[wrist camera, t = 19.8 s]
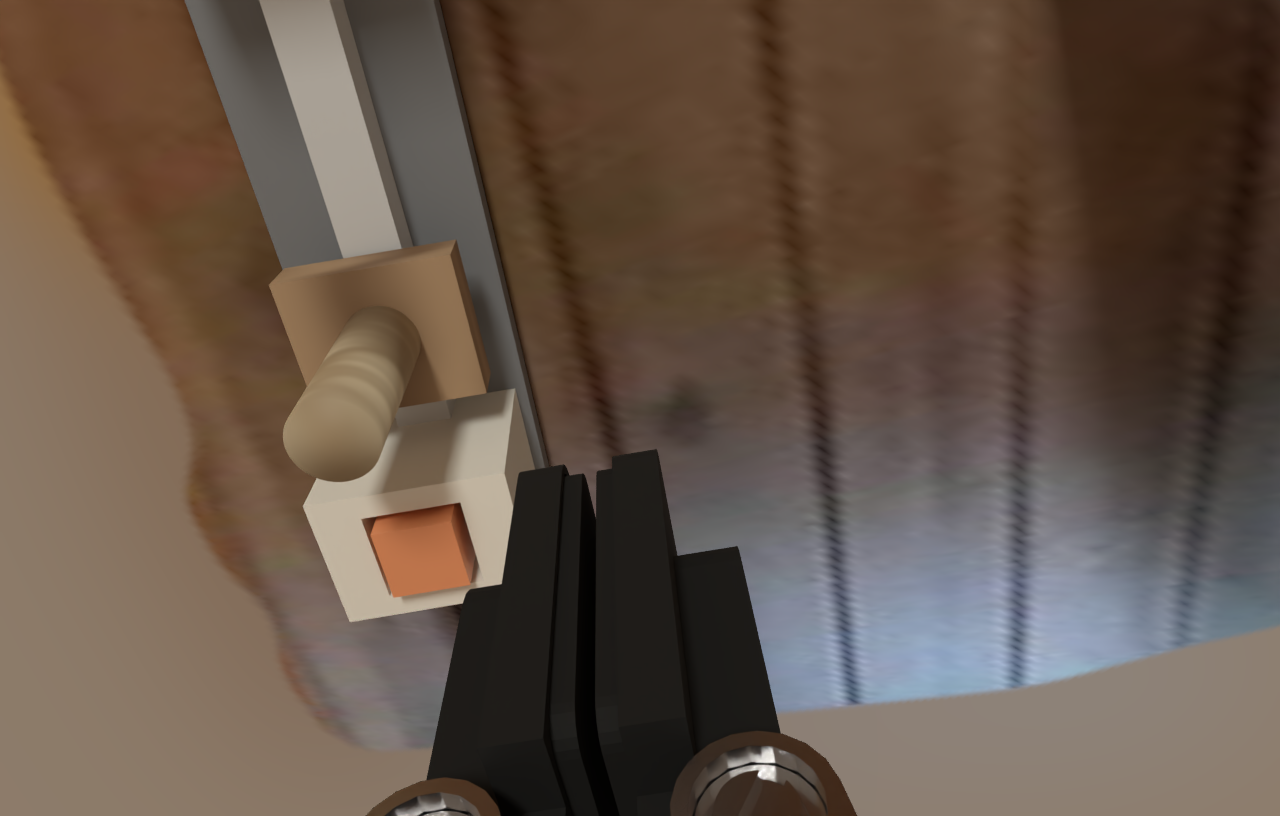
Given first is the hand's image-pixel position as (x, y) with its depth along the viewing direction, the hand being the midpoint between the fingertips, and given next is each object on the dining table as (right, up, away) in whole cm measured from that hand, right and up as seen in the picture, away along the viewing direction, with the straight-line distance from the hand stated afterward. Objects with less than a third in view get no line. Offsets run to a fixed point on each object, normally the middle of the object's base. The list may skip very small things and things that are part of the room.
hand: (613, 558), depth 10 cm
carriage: (-10, +5, +25) cm, 28 cm away
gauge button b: (-9, -3, +27) cm, 28 cm away
